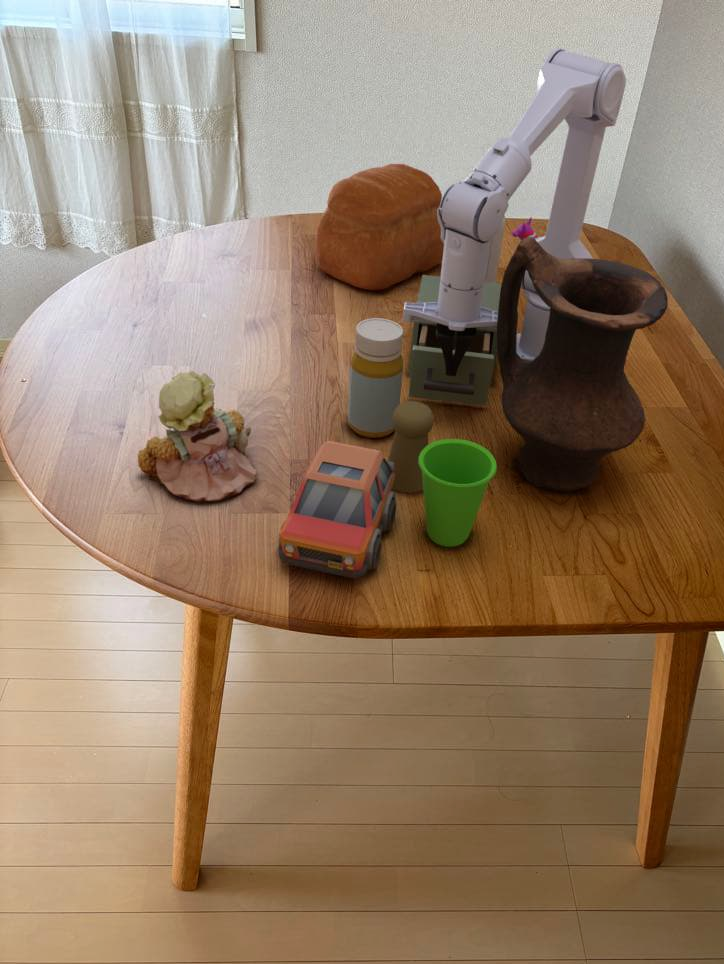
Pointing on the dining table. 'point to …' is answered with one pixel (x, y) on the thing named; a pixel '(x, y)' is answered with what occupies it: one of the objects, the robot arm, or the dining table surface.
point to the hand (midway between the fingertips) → (451, 372)
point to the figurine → (198, 443)
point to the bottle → (375, 377)
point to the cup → (454, 487)
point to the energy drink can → (494, 254)
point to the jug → (574, 363)
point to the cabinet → (431, 294)
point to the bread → (380, 227)
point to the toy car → (340, 512)
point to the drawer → (432, 375)
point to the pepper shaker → (409, 444)
